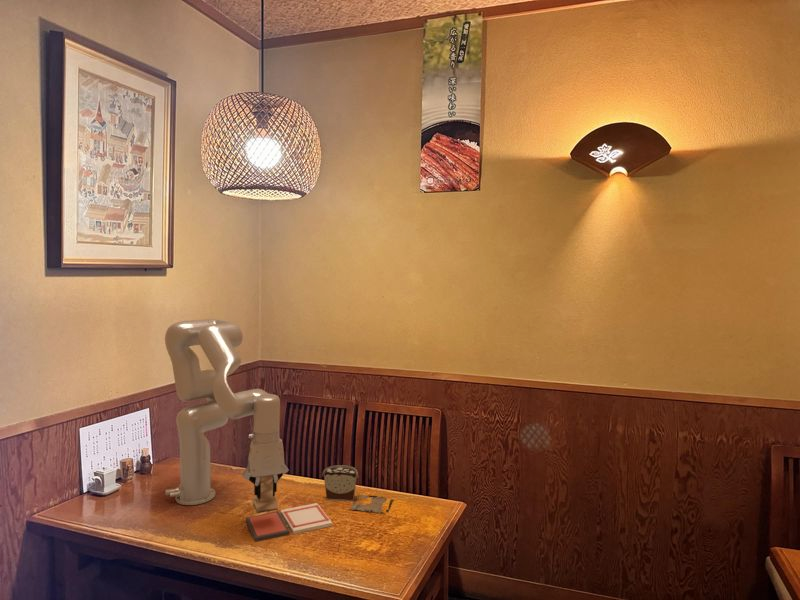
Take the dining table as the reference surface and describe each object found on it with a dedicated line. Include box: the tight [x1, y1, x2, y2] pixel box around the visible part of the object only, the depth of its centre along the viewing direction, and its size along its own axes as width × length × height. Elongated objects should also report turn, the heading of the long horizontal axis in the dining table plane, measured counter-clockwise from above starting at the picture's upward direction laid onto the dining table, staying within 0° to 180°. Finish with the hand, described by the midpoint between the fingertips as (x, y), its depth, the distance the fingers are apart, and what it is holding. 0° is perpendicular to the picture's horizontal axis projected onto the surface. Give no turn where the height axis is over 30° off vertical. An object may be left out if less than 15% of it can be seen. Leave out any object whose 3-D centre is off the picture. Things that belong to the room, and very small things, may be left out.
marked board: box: [280, 502, 333, 535], centre depth 167 cm, size 12×15×1 cm
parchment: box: [350, 494, 393, 515], centre depth 179 cm, size 12×13×1 cm
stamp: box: [252, 475, 279, 514], centre depth 162 cm, size 6×6×11 cm
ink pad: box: [245, 510, 291, 543], centre depth 162 cm, size 10×14×1 cm
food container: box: [321, 464, 359, 502], centre depth 184 cm, size 12×6×10 cm, turn 84°
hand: (265, 495), depth 162 cm, fingers closed on stamp, 3 cm apart
